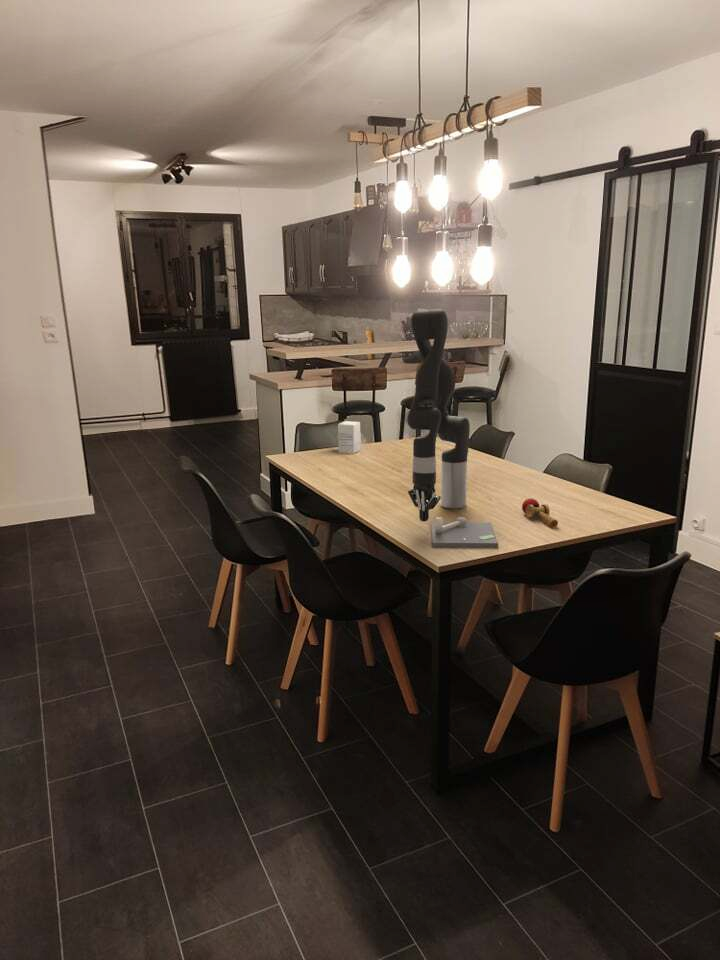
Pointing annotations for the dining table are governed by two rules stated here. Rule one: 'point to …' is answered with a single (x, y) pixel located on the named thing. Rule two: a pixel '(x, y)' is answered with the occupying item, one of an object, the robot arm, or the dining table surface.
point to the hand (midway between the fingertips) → (424, 520)
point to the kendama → (538, 511)
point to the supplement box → (349, 436)
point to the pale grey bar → (439, 524)
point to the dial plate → (465, 536)
